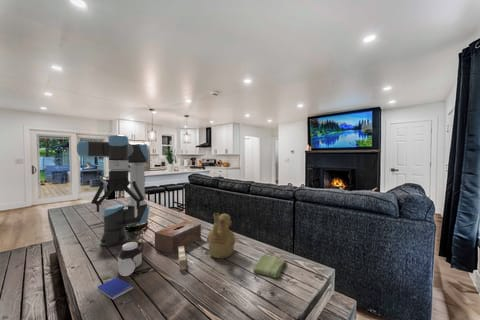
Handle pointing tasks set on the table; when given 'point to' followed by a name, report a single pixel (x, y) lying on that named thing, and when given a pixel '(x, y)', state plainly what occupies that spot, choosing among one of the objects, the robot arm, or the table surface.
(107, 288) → the hard drive
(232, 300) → the table surface
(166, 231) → the tissue box cover
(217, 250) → the ceramic vessel
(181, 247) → the ash stop
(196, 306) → the table surface
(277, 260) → the washcloth
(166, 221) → the table surface
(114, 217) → the robot arm
